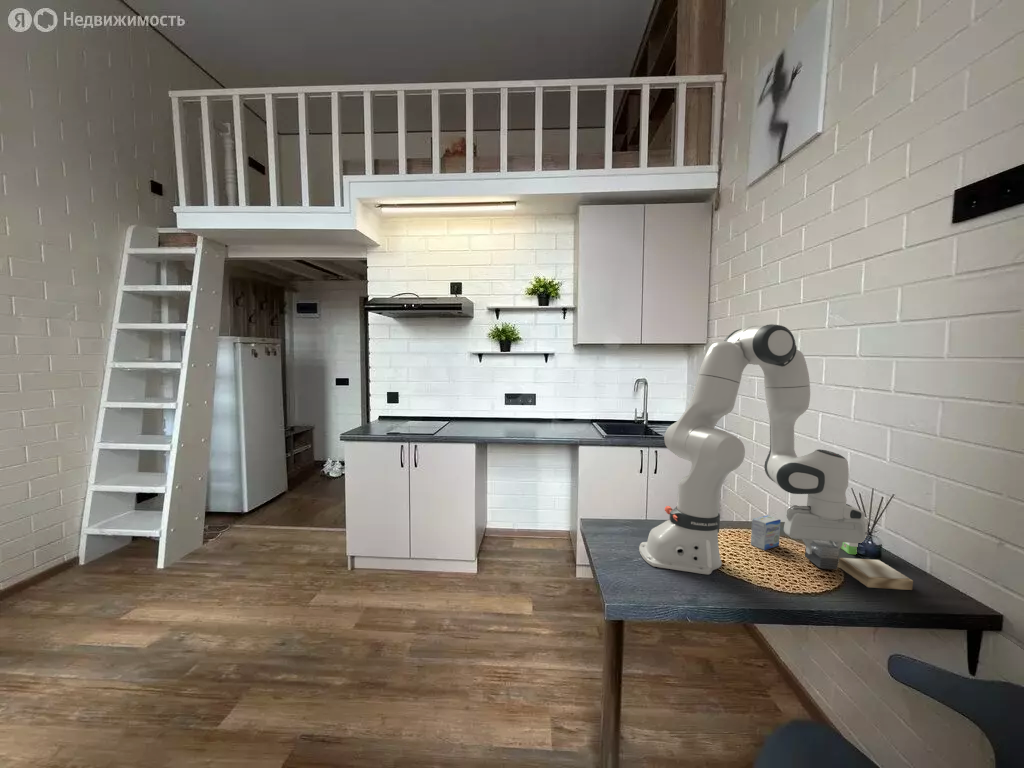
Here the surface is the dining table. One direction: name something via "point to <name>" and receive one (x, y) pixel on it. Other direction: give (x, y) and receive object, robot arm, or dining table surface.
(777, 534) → the medicine box
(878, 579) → the plinth
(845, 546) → the ink box
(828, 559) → the housing
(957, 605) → the dining table surface
